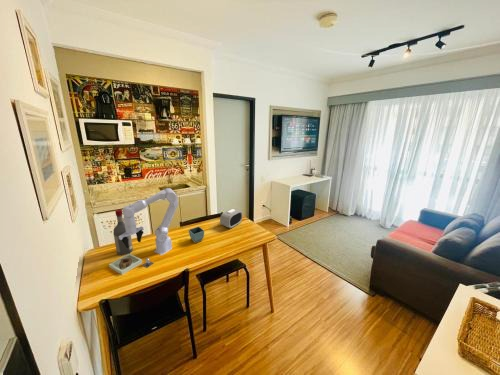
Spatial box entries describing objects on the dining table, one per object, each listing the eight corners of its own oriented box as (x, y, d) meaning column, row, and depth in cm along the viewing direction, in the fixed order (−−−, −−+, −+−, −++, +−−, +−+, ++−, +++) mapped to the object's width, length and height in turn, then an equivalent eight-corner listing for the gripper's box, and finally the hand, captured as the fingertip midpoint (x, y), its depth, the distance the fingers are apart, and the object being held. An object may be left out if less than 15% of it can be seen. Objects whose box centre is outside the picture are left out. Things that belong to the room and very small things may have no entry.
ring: (132, 261, 127) (131, 257, 126) (129, 268, 122) (129, 263, 121) (122, 263, 126) (121, 258, 125) (119, 269, 120) (118, 265, 119)
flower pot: (194, 245, 148) (193, 234, 145) (188, 240, 154) (188, 229, 152) (204, 241, 153) (204, 230, 151) (199, 236, 160) (198, 226, 157)
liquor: (117, 256, 132) (109, 214, 124) (117, 249, 139) (110, 209, 131) (133, 252, 137) (127, 211, 128) (132, 246, 144) (126, 206, 136)
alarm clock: (228, 230, 170) (228, 216, 166) (220, 227, 175) (219, 213, 171) (242, 222, 187) (243, 208, 183) (234, 219, 192) (234, 206, 188)
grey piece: (148, 261, 129) (148, 255, 128) (154, 264, 127) (153, 257, 125) (141, 265, 125) (140, 259, 123) (146, 268, 122) (146, 262, 121)
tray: (130, 257, 132) (129, 253, 132) (142, 263, 127) (142, 259, 126) (109, 268, 122) (108, 264, 121) (122, 275, 116) (121, 271, 115)
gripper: (137, 219, 132) (140, 237, 136) (114, 228, 120) (117, 248, 124) (144, 221, 129) (147, 240, 133) (121, 231, 117) (124, 251, 121)
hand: (133, 244), depth 128 cm, fingers open, 7 cm apart
